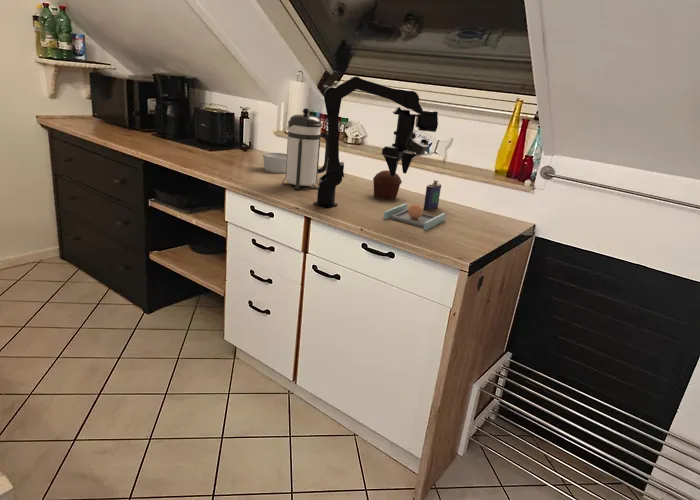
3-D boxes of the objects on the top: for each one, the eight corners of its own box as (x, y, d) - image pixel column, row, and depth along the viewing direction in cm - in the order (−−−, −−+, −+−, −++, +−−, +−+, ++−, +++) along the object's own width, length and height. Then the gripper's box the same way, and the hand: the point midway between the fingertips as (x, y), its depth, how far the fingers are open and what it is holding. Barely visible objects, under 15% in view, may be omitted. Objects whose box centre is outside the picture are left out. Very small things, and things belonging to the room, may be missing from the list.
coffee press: (316, 193, 188) (323, 112, 177) (276, 187, 190) (280, 107, 180) (327, 184, 204) (334, 109, 194) (290, 178, 206) (295, 104, 196)
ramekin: (295, 169, 225) (296, 154, 222) (288, 175, 212) (289, 159, 210) (266, 166, 226) (267, 151, 223) (258, 171, 213) (259, 155, 211)
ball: (418, 221, 165) (420, 207, 163) (404, 218, 167) (406, 204, 165) (424, 218, 169) (426, 204, 167) (411, 215, 171) (413, 201, 169)
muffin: (390, 202, 187) (394, 176, 184) (365, 195, 192) (368, 170, 189) (404, 197, 197) (407, 172, 193) (380, 191, 202) (383, 167, 198)
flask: (433, 205, 189) (437, 178, 185) (440, 207, 187) (444, 179, 183) (421, 209, 182) (426, 181, 178) (428, 211, 180) (433, 182, 176)
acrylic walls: (425, 230, 158) (427, 222, 157) (383, 218, 165) (384, 211, 164) (444, 220, 171) (445, 213, 170) (404, 210, 178) (405, 203, 177)
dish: (423, 227, 160) (423, 224, 160) (390, 218, 166) (391, 215, 166) (437, 220, 170) (437, 216, 170) (406, 212, 176) (406, 209, 175)
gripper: (415, 134, 155) (407, 183, 160) (437, 131, 170) (430, 176, 175) (384, 129, 160) (378, 176, 165) (408, 126, 175) (402, 170, 180)
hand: (398, 174), depth 171 cm, fingers open, 9 cm apart
